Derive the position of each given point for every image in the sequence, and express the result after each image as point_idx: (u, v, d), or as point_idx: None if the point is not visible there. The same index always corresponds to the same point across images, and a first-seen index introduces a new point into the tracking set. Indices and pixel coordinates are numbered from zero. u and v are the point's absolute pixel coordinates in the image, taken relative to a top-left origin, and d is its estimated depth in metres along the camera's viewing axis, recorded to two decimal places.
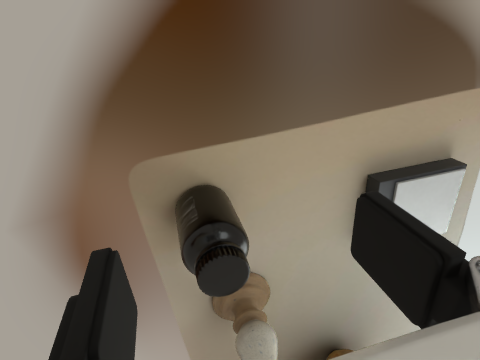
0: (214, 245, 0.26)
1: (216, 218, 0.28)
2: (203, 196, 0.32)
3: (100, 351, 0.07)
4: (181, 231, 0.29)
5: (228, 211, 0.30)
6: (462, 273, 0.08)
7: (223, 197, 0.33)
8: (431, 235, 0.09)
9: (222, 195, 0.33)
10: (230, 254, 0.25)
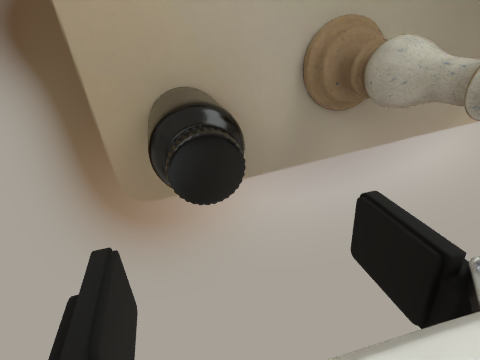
0: (165, 174, 0.18)
1: None
2: None
3: (100, 351, 0.07)
4: None
5: (152, 120, 0.21)
6: (462, 273, 0.08)
7: (153, 109, 0.24)
8: (431, 235, 0.09)
9: (153, 108, 0.24)
10: (168, 163, 0.17)
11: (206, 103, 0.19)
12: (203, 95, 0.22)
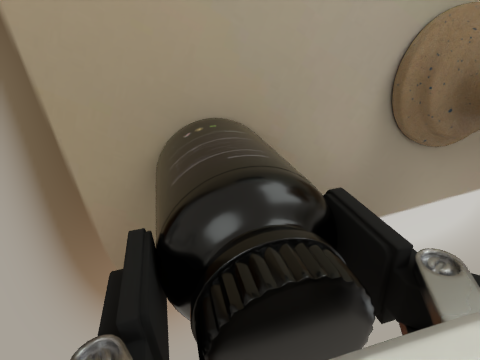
0: (194, 334, 0.08)
1: (156, 257, 0.10)
2: None
3: (149, 312, 0.07)
4: None
5: (164, 193, 0.11)
6: (411, 265, 0.09)
7: (164, 161, 0.14)
8: (384, 229, 0.09)
9: (164, 157, 0.14)
10: (205, 345, 0.07)
11: (276, 174, 0.09)
12: (254, 141, 0.13)
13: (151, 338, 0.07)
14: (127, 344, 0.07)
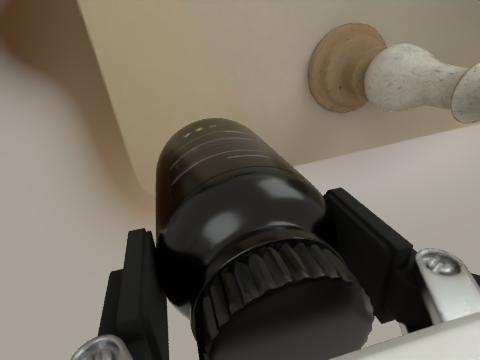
0: (194, 334, 0.08)
1: (156, 257, 0.10)
2: None
3: (149, 312, 0.07)
4: None
5: (164, 193, 0.11)
6: (411, 265, 0.09)
7: (164, 161, 0.14)
8: (384, 229, 0.09)
9: (164, 157, 0.14)
10: (205, 345, 0.07)
11: (275, 174, 0.09)
12: (254, 142, 0.13)
13: (151, 338, 0.07)
14: (127, 344, 0.07)
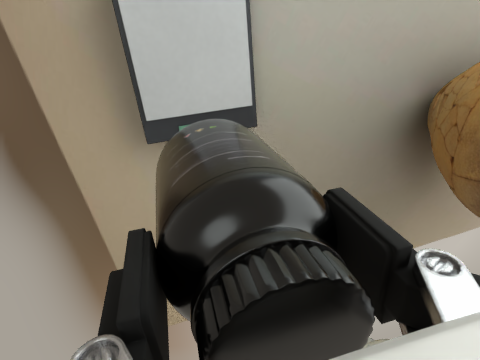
0: (194, 335, 0.08)
1: (156, 258, 0.10)
2: None
3: (149, 312, 0.07)
4: None
5: (165, 194, 0.11)
6: (411, 265, 0.09)
7: (165, 161, 0.14)
8: (384, 229, 0.09)
9: (164, 158, 0.14)
10: (205, 346, 0.07)
11: (276, 175, 0.09)
12: (254, 142, 0.13)
13: (151, 338, 0.07)
14: (127, 344, 0.07)
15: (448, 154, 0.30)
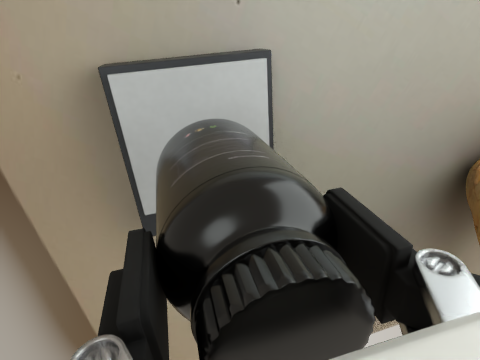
0: (194, 336, 0.08)
1: (156, 257, 0.10)
2: None
3: (149, 312, 0.07)
4: None
5: (165, 194, 0.11)
6: (411, 265, 0.09)
7: (164, 161, 0.14)
8: (384, 229, 0.09)
9: (164, 157, 0.14)
10: (205, 346, 0.07)
11: (276, 175, 0.09)
12: (254, 142, 0.13)
13: (151, 338, 0.07)
14: (127, 344, 0.07)
15: None
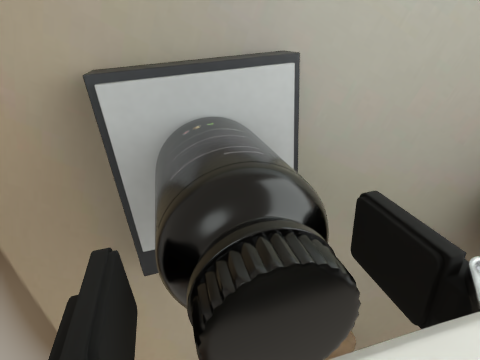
0: (190, 320, 0.09)
1: None
2: None
3: (100, 351, 0.07)
4: None
5: (163, 188, 0.12)
6: (462, 273, 0.08)
7: (164, 157, 0.14)
8: (431, 235, 0.09)
9: (163, 154, 0.15)
10: (200, 327, 0.07)
11: (269, 169, 0.10)
12: (249, 139, 0.13)
13: None
14: None
15: None
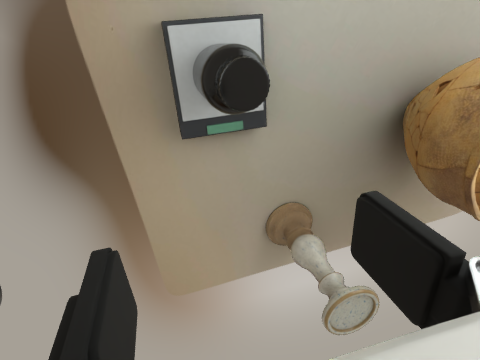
0: (215, 90, 0.27)
1: (200, 78, 0.29)
2: (195, 79, 0.33)
3: (100, 351, 0.07)
4: None
5: (202, 60, 0.30)
6: (462, 273, 0.08)
7: (199, 57, 0.32)
8: (431, 235, 0.09)
9: (198, 57, 0.33)
10: (219, 78, 0.25)
11: (242, 45, 0.28)
12: None
13: None
14: None
15: (414, 149, 0.39)
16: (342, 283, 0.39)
